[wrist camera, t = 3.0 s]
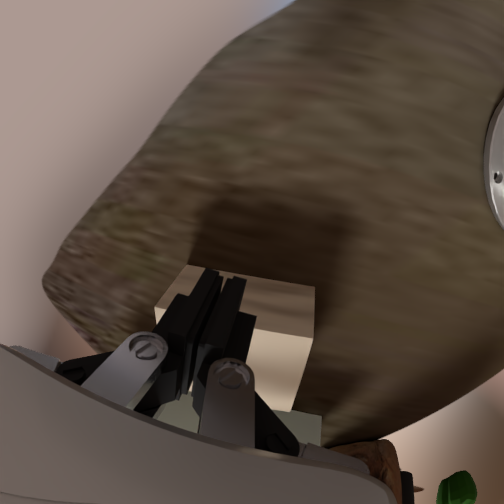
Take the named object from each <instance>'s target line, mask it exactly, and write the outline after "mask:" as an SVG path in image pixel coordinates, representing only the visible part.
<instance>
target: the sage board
mask: <svg viewBox="0 0 504 504" xmlns="http://www.w3.org/2000/svg"><path fill="white" fill-rule="evenodd" d="M192 403H193V397H191V391H188V394H187V395H185V394H182V395H181V397H180V400H179V401H178V400H175V401H172V402H168V403H166V406H165V408H164V410H163V411H162V413H161V414H160V416H159V417H158V419H157V420H159V421H162V422H164V423H167V424H170V425H173V426H176V427H179V428H182V429H185V430H188V431H191V432H194V433H197V429H198V422H199V416H198V415H197V413H196V412H195V410H194V409H193V407H192ZM271 410H272V411H273V412H274V413H275V414H276V415H277V416H278V418H279V419H280V420H281V421H282V422H283V423H284V424H285V425H286V427H287V428H288V429H289V430H290V431H291V432H292V433H293V434H294V435H295V437H296V438H297V440H298V442H301V443H304V444H307V443H308V442H309V443H312V444H315V445H317V446H320V438H321V421H322V416H319V415H314V414H309V413H304V412H299V411H294V410H291V411H290V412H286V411H279V410H273V409H271Z"/></svg>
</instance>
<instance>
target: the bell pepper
mask: <svg viewBox="0 0 504 504" xmlns="http://www.w3.org/2000/svg"><path fill="white" fill-rule="evenodd" d="M476 497H477V489H476V485H475V483H474V481H473V478H472V477H471V475H470V474H469V473H468V472H467V471H460V472H456V473H454V474H453V475H451V476H450V477H448V478H446V479H444V480H442V481H441V483H440V485H439V489H438V493H437V500H436V504H474V503H475V501H476Z"/></svg>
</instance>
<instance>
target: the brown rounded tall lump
mask: <svg viewBox="0 0 504 504" xmlns="http://www.w3.org/2000/svg"><path fill="white" fill-rule="evenodd" d="M329 450H332V451H335V452H338V453H341V454H344V455H348V456H351V457H354V458H357V459H359V460H362V461H363V462H364V463H365V464H366V465H367V466H368V469H369V471H370V476H373V477H375V478H376V479H378V480H380V481H381V482H383V483H384V484H386V485H387V486H388V487H389V488H390V489H391V491H392V492H393V494H394V496H395V498H396V501H397V504H402V488H401V476H400V468H399V462H398V457H397V454H396V450H395V447H394V446H393V444H392V443H391V442H390V441H389V440H386V439H382V440H374V441H373V442H357V443H353V444H347V445H340V446H336V447H333V448H330V449H329Z"/></svg>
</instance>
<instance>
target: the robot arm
mask: <svg viewBox="0 0 504 504" xmlns="http://www.w3.org/2000/svg"><path fill="white" fill-rule="evenodd" d="M484 179H485V188H486V192H487V196H488V201H489V204H490V207H491V209H492V212H493V214H494V216H495V218H496V220H497V221H498V223H499V225H500V226H501V227H502V229H503V230H504V98H503V99H502V100H501V102H500V103H499V105H498V106H497V108H496V109H495V112H494V114H493V116H492V119H491V121H490V124H489V128H488V132H487V135H486V141H485V149H484ZM219 273H220V272H219V271H216V270H213V269H209V268H205V270H204V272H203V273H202V275H201V277H200V278H199V280H198V282H197V283H196V285H195V287H194V288H193V290H192V292H191V293H190V295H189V296H186V295H183V294H180V293H178V294H177V295H176V296H175V297H174V299H173V300H172V302H171V303H170V305H169V306H168V308H167V310H166V311H165V313H164V314H163V316H162V317H161V319H160V320H159V322H158V324H157V325H156V327H155V328H154V330H153V331H152V332H145V331H144V332H137V333H135V334H132V335H131V336H129V337H128V338H127V339H126V340H125V341H124V342H123V343H122V344H121V345H120V346H119V347H118V348H117V349H116V350H115V351H112V352H107V353H102V354H97V355H92V356H87V357H82V358H77V359H72V360H68V361H65V362H60V359H59V358H55V357H52V356H49V355H45V354H42V353H39V352H36V351H33V350H29V349H27V348H24V347H21V346H10V347H8V346H6V345H3V344H1V343H0V504H397V501H396V498H395V496H394V494H393V492H392V491H391V489H390V488H389V487H388V486H387V485H386V484H384V483H383V482H381V481H380V480H378V479H376V478H375V477H373V476H370V471H369V469H368V466H367V465H366V464H365V463H364V462H363V461H362V460H359V459H357V458H354V457H351V456H348V455H344V454H341V453H338V452H335V451H332V450H329V449H326V448H323V447H320V446H317V445H315V444H312V443H309V442H308V443H307V444H304V443H301V442H298V440H297V438H296V437H295V435H294V434H293V433H292V432H291V431H290V430H289V429H288V428H287V427H286V425H285V424H284V423H283V422H282V421H281V420H280V419H279V418H278V416H277V415H276V414H275V413H274V412H273V411H272V410H271V409H270V407H269V406H268V405H267V404H266V403H265V402H264V400H263V399H262V398H261V397H260V396H259V395H258V393H257V392H256V391H255V377H254V372H253V371H252V369H251V368H250V367H249V366H248V365H247V364H246V360H247V356H248V352H249V348H250V344H251V339H252V335H253V331H254V327H255V323H256V318H257V316H255V315H252V314H248V313H244V312H241V311H239V310H240V306H241V302H242V298H243V294H244V290H245V286H246V282H247V279H244V278H241V277H237V276H233V278H232V279H231V278H227V280H226V282H225V284H224V286H223V289H222V291H221V288H222V283H223V278H224V276H220V275H219ZM192 381H193V385H192V392H191V397H193V403H192V407H193V409H194V410H195V412H196V413H197V415H198V416H199V422H198V429H197V433H194V432H191V431H188V430H185V429H182V428H179V427H176V426H173V425H170V424H167V423H164V422H162V421H159V420H157V419H158V417H159V416H160V414H161V413H162V411H163V410H164V408H165V406H166V403H168V402H172V401H175V400H178V401H179V400H180V397H181V395H182V394H185V395H187V394H188V391H189V389H190V386H191V384H192Z"/></svg>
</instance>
